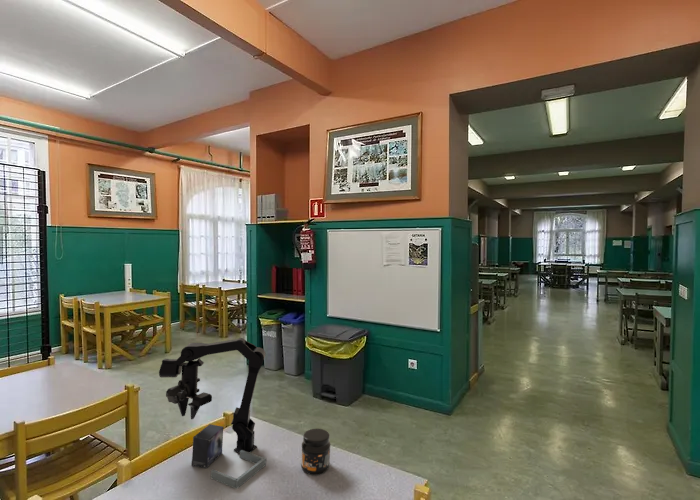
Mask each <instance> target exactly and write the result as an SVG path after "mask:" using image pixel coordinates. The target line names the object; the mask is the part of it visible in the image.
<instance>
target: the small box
mask: <svg viewBox="0 0 700 500" xmlns="http://www.w3.org/2000/svg"><path fill="white" fill-rule="evenodd" d="M192 437H193V439H192V451H191V452H192V454H191V455H192V456H191V466H192V467H197V468H202V469H207V468H208V467H209V466H211V464H212V463H214V462H215V461H216V460H217V459H218V458H219V457H220V456H222V454H223V440H224V439H223V438H224V426H221V425H215V424H211V423H209V424H208V425H207V426H205V428H203V429H202V430H200V431H199V432H198V433H197V434H195V435H194V436H192Z"/></svg>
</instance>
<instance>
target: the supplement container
mask: <svg viewBox="0 0 700 500" xmlns="http://www.w3.org/2000/svg"><path fill="white" fill-rule="evenodd" d="M330 457H331V442H330V433H329V431H327V430H325V429H323V428H311V429H308V430H306V431H305V432H304V433H303V438H302V442H301V460H300V467H301V470H302V471H303V472H304V473H306V474H308V475H311V476H318V475H322V474H324V473H326V472H327V471H328V470H329V468H330V464H331V463H330V462H331V460H330V459H331V458H330Z"/></svg>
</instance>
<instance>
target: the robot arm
mask: <svg viewBox="0 0 700 500" xmlns="http://www.w3.org/2000/svg"><path fill="white" fill-rule="evenodd" d="M180 351H181V352H180V356H179V357H178V358H172V359H171V358H163V359H162V360H161V365H160V368H159V370H158V376H159V378H161V379H162V378H177V377H178V376H179V375H181V379H180V380H178V382H177V385H175V386H172V387H169V388H168V389H167V390H166V391H165V397H166V398H167V401H168V403H172V404H174V405H176V404H177V405H178V409H179V411H180V415H181V417H185V416H186V414H187V408H188V406H189V407H190V420H194V419H195V417H196V415H197V414H198V412H199V410H200V408H201V407H203V406H205V405H207V404H208V403H211V402H212V401H213V395H212V394H211V393H208V392H201V393H199V392H200V388H198V382H199V383H200V382H201V378H199V377H198V376H199V375H198V374H199V372H198V371H199V367H202V366H203V365H204V364H205V362H204V360H201V358H203V357H206V356H208V355H209V356H210V355H216V354H221V353H227V352H233V351H237V352H239V354H241V355H242V356H243V357H244V358H245V359H246V360H248V367H247V368H248V374H247V377H246V380H245V381H246V382H245V386H244V391H243V394H242V398H241V402H240V407H235V410H234V412H233V414H232V415H233V417H232V421H231V423H230V425H232V427H231V428H232V430H233V432H234V433H236V436H237V437H236V438H237V440H236V447H235V448H233V451H234V452H237V453H239V454H240V451H241V450H244V451H247V452H249V453H252V452H253V451H255V450H256V449H257V448H258V446H257V445H255V430H254V429H255V427H256V426H255V425H256V422H255V421H253V420H252V418H251V403H252V399H253V395H254V391H255V387H256V383H257V379H258V375H259V372H260V370H261V368H262V366H263V363H264V361H265V358H266V355H267V354H266V351H265V349H264V348H262V347H257V346H256V344H253V343H251V342H249V341H247V340H246V339H244V338H243V337H239V338H235V339H229V340H223V341H216V342H211V343H210V342H209V343H204V342H190V343H188V344H187V345H185V346H184V347H182V348H181V350H180ZM197 393H199V394H197ZM190 399H191V402H189V400H190Z"/></svg>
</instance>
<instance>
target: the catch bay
mask: <svg viewBox="0 0 700 500" xmlns="http://www.w3.org/2000/svg"><path fill="white" fill-rule="evenodd" d="M239 458H240V459H242V460H245V461H247V462H250V463H254V464H253V465H252V466H251V467H250V468H249V469H247V470H246V471H245V472H243V473H242V474H241V475H240V476H238V477H237V478H236V477H234V476H231V475H229V474H226V473H224V472H221V471H218V470H216V469H212V470H211V471H210V479H212V480H214V481H217V482H219V483H220V484H224V485H226V486H229V487H231V488H233V489H236V490H237V489H239V487H241V486H242V485H243V484H244V483H246V482H247V481H248V480H249V479H251V477H253V476H254V475H255V474H257V473H258V472H259V471H260V470H261V469H264V467H266V465H267V458H266V457H263V456H260V455H257V454H255V453H252V452H250V453H249V452H247V451H244V450H241V451H240V453H239Z"/></svg>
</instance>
